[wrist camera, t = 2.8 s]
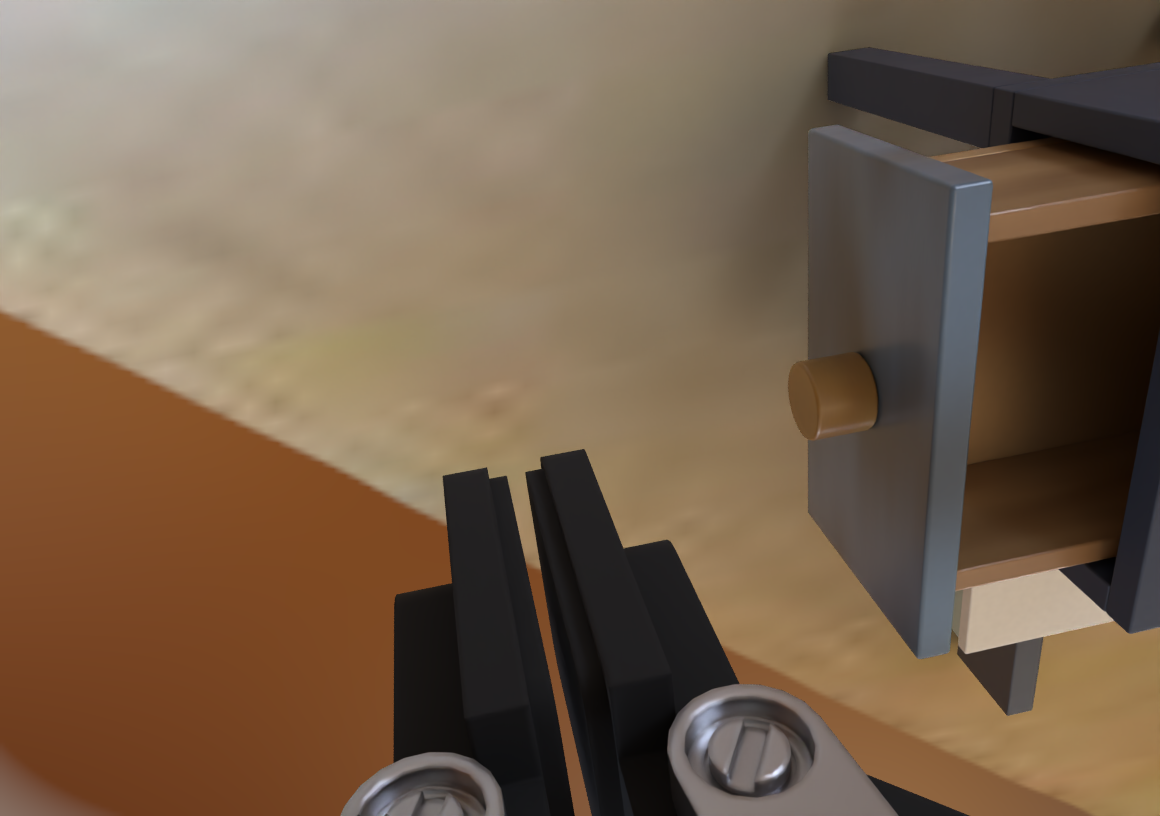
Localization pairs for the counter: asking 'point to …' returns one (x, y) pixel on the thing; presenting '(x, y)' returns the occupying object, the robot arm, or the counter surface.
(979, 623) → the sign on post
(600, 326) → the counter surface
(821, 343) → the drawer
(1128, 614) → the drawer chest
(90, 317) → the counter surface
